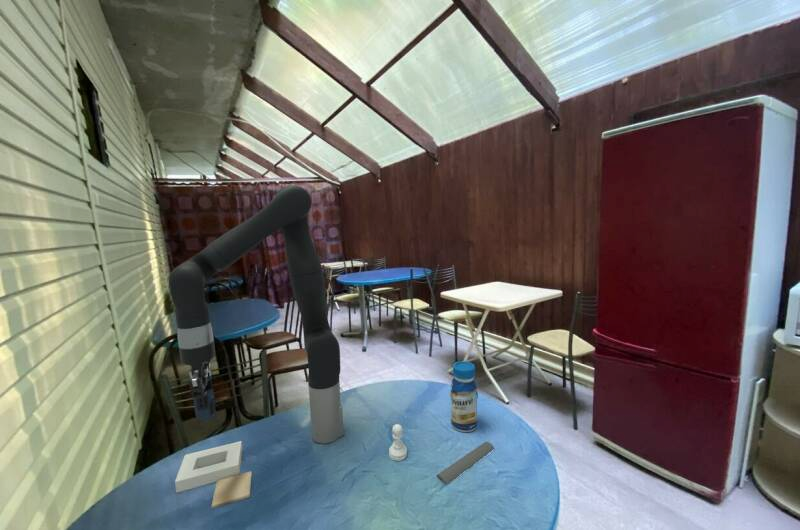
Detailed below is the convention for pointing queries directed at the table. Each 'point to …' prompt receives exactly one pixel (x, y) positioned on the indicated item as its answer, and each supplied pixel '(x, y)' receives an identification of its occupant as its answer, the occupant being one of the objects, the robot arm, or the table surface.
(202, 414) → the vaping device
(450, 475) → the gray half cylinder
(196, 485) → the white cutout frame
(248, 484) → the tan rectangular block
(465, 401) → the beverage bottle
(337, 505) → the table surface
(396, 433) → the chess pawn
